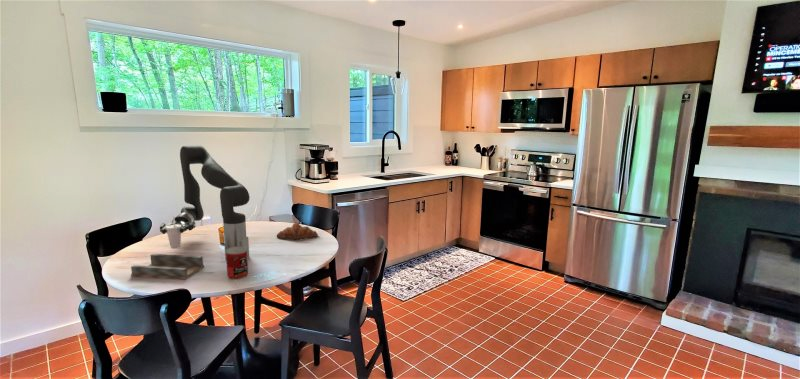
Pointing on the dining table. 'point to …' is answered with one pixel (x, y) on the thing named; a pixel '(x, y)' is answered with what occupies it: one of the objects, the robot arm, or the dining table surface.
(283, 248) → the dining table surface
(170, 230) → the smoothie
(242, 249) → the canned food
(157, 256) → the door track
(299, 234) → the pastry
